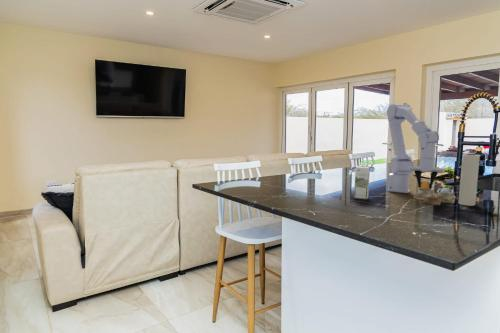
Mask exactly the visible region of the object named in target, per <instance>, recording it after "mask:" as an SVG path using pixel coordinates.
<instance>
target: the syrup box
mask: <svg viewBox="0 0 500 333" xmlns="http://www.w3.org/2000/svg"><path fill="white" fill-rule="evenodd" d="M370 168H371V167H370V166H369V165H368V166H367V165H356V166H355V170H354V171H355V172H354V173H355V174H354V194H353V198H354V199H358V200H368V199H369V189H370V188H369V187H370V171H371V169H370Z"/></svg>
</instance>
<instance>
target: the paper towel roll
mask: <svg viewBox="0 0 500 333" xmlns="http://www.w3.org/2000/svg"><path fill="white" fill-rule="evenodd" d="M480 157H481V156H480V154H476V153H474V154H473V153H466V154H465V153H464V154H462V159H461V168H460V169H461V170H460V180H459V190H458V191H459V193H458V204H459V205H461V206H470V207H473V206H476V201H477V200H476V199H477V190H478V180H479V179H478V178H479V167H480V159H481V158H480Z"/></svg>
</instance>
